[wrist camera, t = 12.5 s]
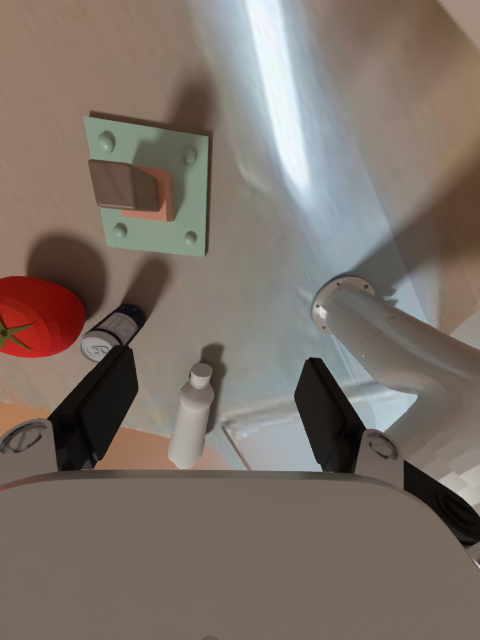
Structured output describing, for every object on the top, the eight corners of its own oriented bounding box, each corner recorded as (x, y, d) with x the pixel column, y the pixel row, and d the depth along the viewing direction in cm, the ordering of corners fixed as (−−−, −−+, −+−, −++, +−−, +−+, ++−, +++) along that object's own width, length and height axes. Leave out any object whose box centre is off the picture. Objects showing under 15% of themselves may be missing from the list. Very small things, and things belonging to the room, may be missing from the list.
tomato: (31, 328, 40) (-37, 367, 30) (14, 261, 34) (-79, 280, 24) (99, 340, 42) (57, 380, 32) (95, 278, 36) (40, 303, 26)
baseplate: (208, 138, 28) (207, 134, 26) (205, 256, 35) (204, 257, 34) (88, 119, 26) (80, 113, 25) (110, 245, 34) (104, 247, 32)
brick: (172, 175, 29) (164, 169, 25) (173, 221, 32) (166, 221, 28) (129, 169, 28) (114, 162, 25) (134, 216, 31) (122, 216, 27)
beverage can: (114, 302, 38) (69, 334, 28) (144, 301, 39) (111, 334, 28) (121, 327, 41) (84, 366, 30) (149, 327, 41) (122, 365, 31)
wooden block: (130, 209, 27) (95, 207, 20) (125, 174, 25) (85, 157, 18) (160, 212, 27) (136, 210, 20) (157, 177, 26) (130, 162, 19)
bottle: (208, 451, 57) (230, 370, 45) (185, 481, 49) (204, 393, 37) (185, 432, 60) (200, 351, 48) (160, 456, 53) (170, 369, 40)
